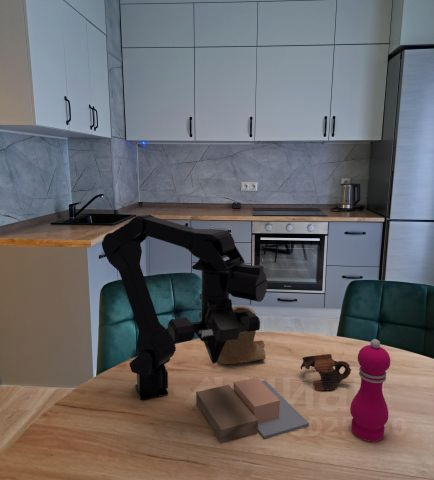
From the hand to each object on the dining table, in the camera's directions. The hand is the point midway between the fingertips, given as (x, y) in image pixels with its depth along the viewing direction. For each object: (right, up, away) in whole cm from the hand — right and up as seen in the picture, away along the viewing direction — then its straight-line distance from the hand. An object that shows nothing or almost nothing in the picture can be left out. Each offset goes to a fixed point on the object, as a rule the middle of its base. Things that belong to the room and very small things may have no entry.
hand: (213, 362), depth 84 cm
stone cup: (+8, -7, +26) cm, 28 cm away
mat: (+11, -11, +4) cm, 17 cm away
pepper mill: (+31, -13, -3) cm, 34 cm away
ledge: (+2, -12, +1) cm, 12 cm away
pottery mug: (+28, -10, +15) cm, 33 cm away
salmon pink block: (+6, -9, +2) cm, 11 cm away
